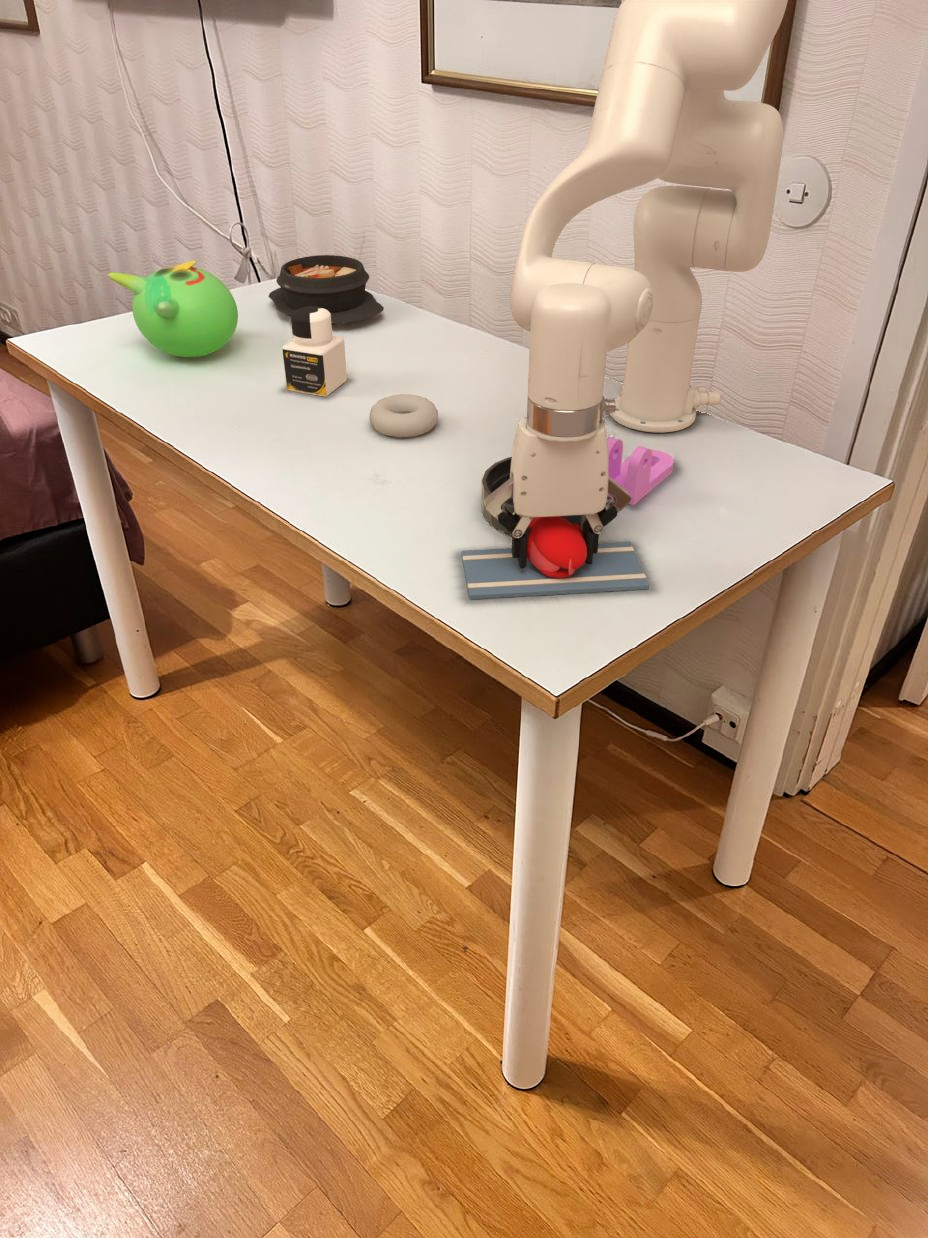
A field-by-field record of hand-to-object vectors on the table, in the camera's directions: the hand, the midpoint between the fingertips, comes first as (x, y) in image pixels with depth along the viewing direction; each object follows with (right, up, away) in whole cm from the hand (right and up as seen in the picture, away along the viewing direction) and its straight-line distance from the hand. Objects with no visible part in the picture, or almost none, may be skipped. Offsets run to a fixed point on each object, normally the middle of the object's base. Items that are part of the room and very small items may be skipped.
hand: (553, 558), depth 106 cm
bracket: (+13, +12, +19) cm, 25 cm away
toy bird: (-57, +38, +54) cm, 87 cm away
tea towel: (0, -1, +1) cm, 2 cm away
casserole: (-36, +51, +70) cm, 94 cm away
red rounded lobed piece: (0, -1, +1) cm, 1 cm away
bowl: (0, +7, +12) cm, 14 cm away
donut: (-19, +21, +31) cm, 42 cm away
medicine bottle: (-33, +30, +43) cm, 62 cm away
